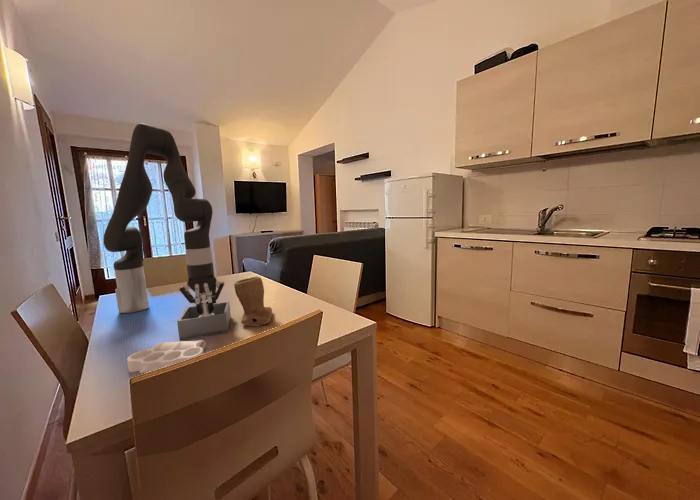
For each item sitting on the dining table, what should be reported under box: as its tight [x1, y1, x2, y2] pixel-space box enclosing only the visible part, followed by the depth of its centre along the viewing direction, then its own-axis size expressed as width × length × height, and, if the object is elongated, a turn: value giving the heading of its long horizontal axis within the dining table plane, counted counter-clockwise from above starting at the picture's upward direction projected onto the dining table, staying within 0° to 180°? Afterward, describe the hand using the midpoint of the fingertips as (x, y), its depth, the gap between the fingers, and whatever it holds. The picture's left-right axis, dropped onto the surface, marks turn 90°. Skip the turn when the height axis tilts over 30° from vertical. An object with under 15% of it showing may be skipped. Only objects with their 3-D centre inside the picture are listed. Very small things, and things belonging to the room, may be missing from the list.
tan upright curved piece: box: [233, 276, 273, 327], centre depth 101 cm, size 15×12×15 cm
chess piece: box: [199, 293, 214, 317], centre depth 96 cm, size 5×5×10 cm
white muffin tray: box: [126, 339, 206, 374], centre depth 76 cm, size 3×18×15 cm
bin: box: [176, 301, 232, 341], centre depth 96 cm, size 14×14×6 cm
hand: (205, 313), depth 96 cm, fingers closed on chess piece
